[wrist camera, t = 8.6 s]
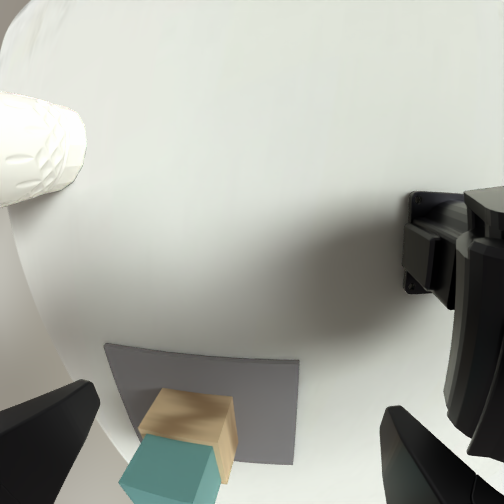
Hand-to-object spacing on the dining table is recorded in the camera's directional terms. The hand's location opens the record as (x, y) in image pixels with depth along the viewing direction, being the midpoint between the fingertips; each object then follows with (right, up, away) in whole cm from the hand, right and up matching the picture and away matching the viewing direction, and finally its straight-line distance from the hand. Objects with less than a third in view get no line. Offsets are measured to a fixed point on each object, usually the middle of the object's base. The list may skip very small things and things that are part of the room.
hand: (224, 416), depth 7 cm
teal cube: (-4, -11, +10) cm, 16 cm away
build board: (-3, -9, +16) cm, 19 cm away
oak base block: (-4, -10, +15) cm, 18 cm away
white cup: (-14, +13, +12) cm, 23 cm away
